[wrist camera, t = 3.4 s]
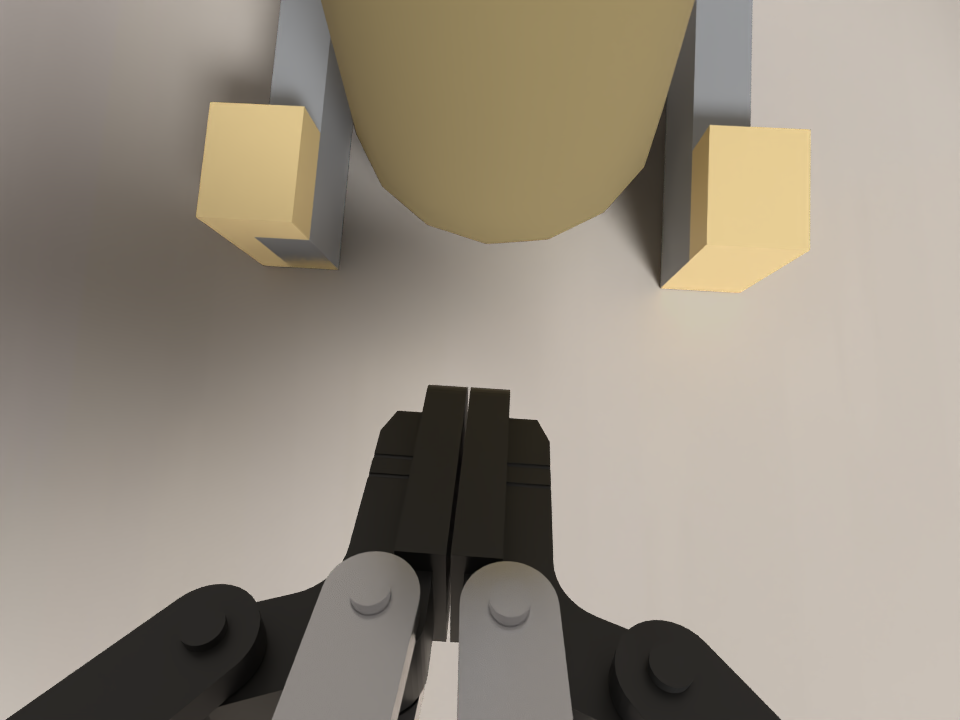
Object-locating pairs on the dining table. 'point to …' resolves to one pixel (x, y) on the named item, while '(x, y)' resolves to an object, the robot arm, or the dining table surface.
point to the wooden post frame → (687, 173)
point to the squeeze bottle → (506, 104)
